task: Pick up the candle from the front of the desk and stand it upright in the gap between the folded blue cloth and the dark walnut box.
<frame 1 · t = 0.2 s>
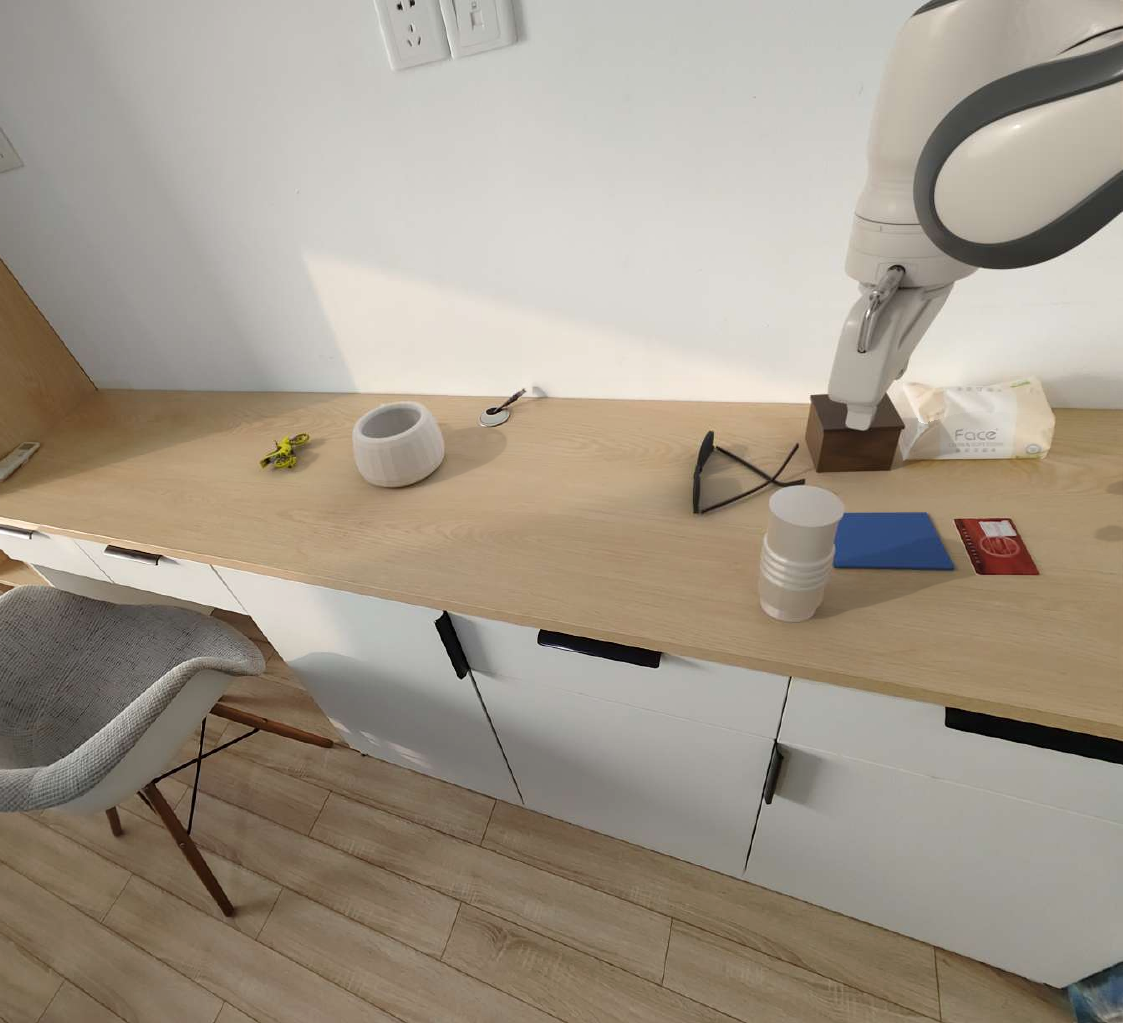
hand: (876, 399, 56), 26 cm above the table, tool pointing down, fingers open, 8 cm apart
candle: (786, 603, 72), on the table
toy motorcycle: (289, 459, 126), on the table
box: (845, 453, 89), on the table
white plant pot: (402, 460, 116), on the table
sunglasses: (745, 485, 89), on the table
cloth: (881, 540, 76), on the table
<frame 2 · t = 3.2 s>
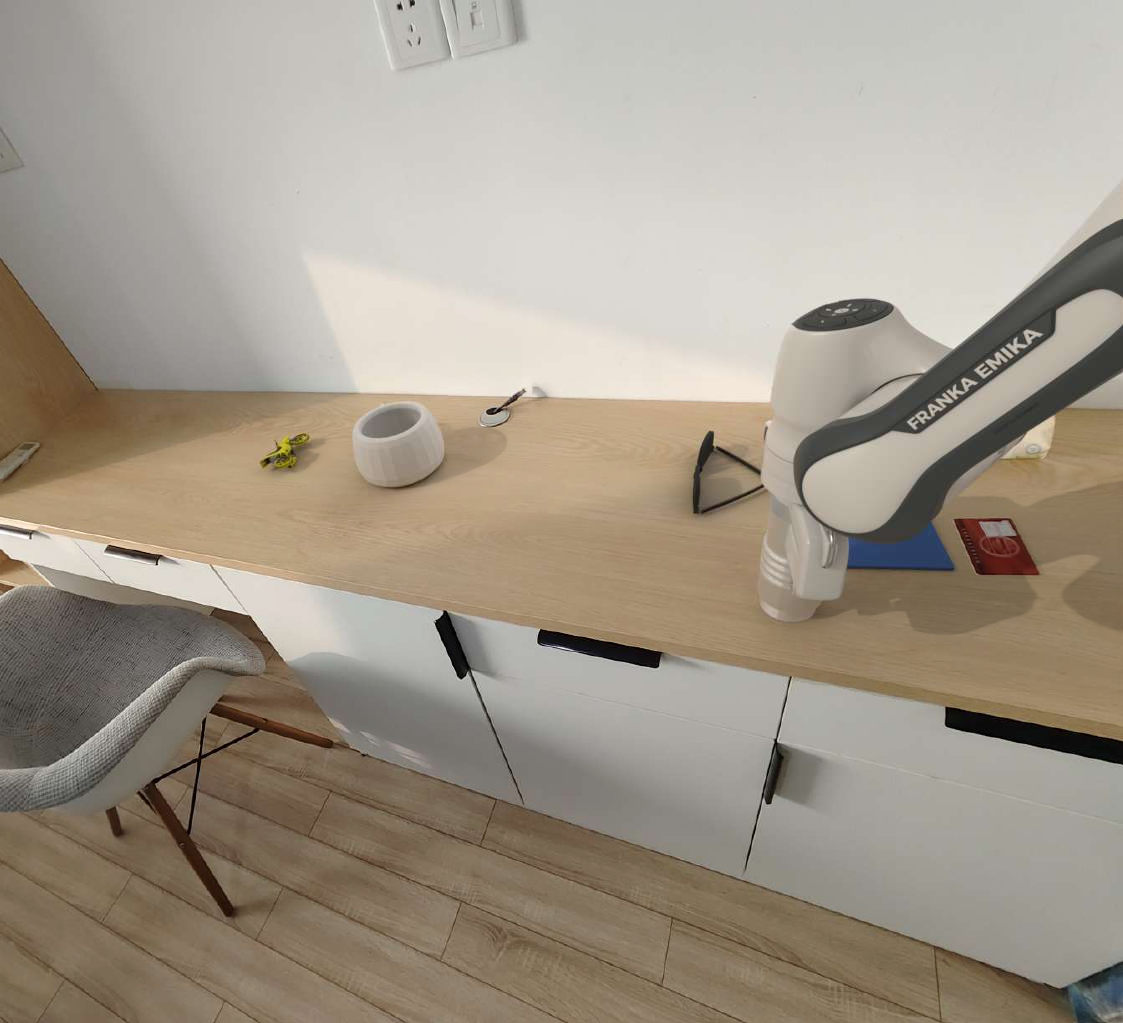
hand: (793, 565, 68), 6 cm above the table, tool pointing down, fingers closed on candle, 7 cm apart
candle: (786, 604, 72), on the table, touching gripper
everything else where it was.
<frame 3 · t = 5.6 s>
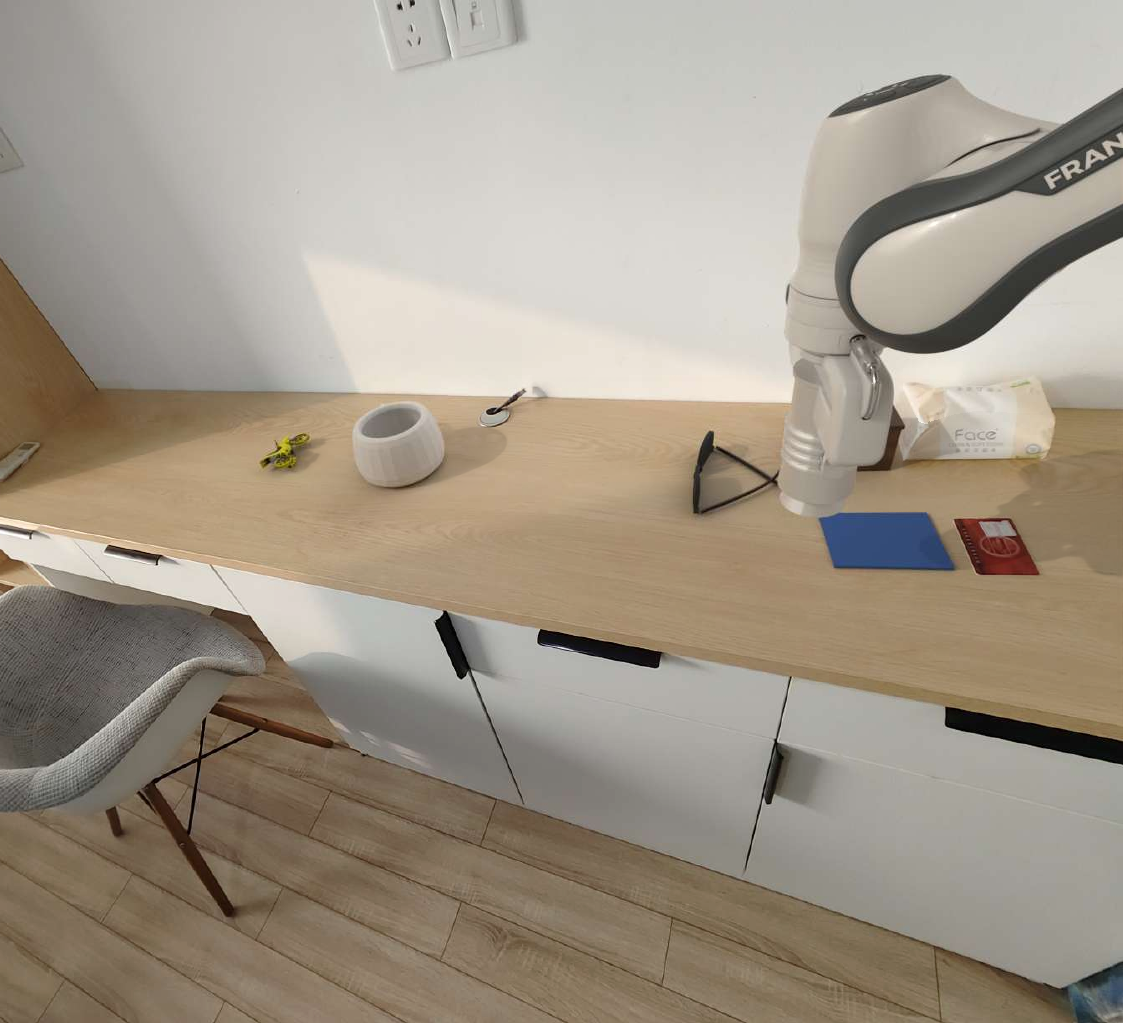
hand: (820, 449, 59), 21 cm above the table, tool pointing down, fingers closed on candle, 7 cm apart
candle: (811, 500, 63), point 15 cm above the table, touching gripper
everything else where it was.
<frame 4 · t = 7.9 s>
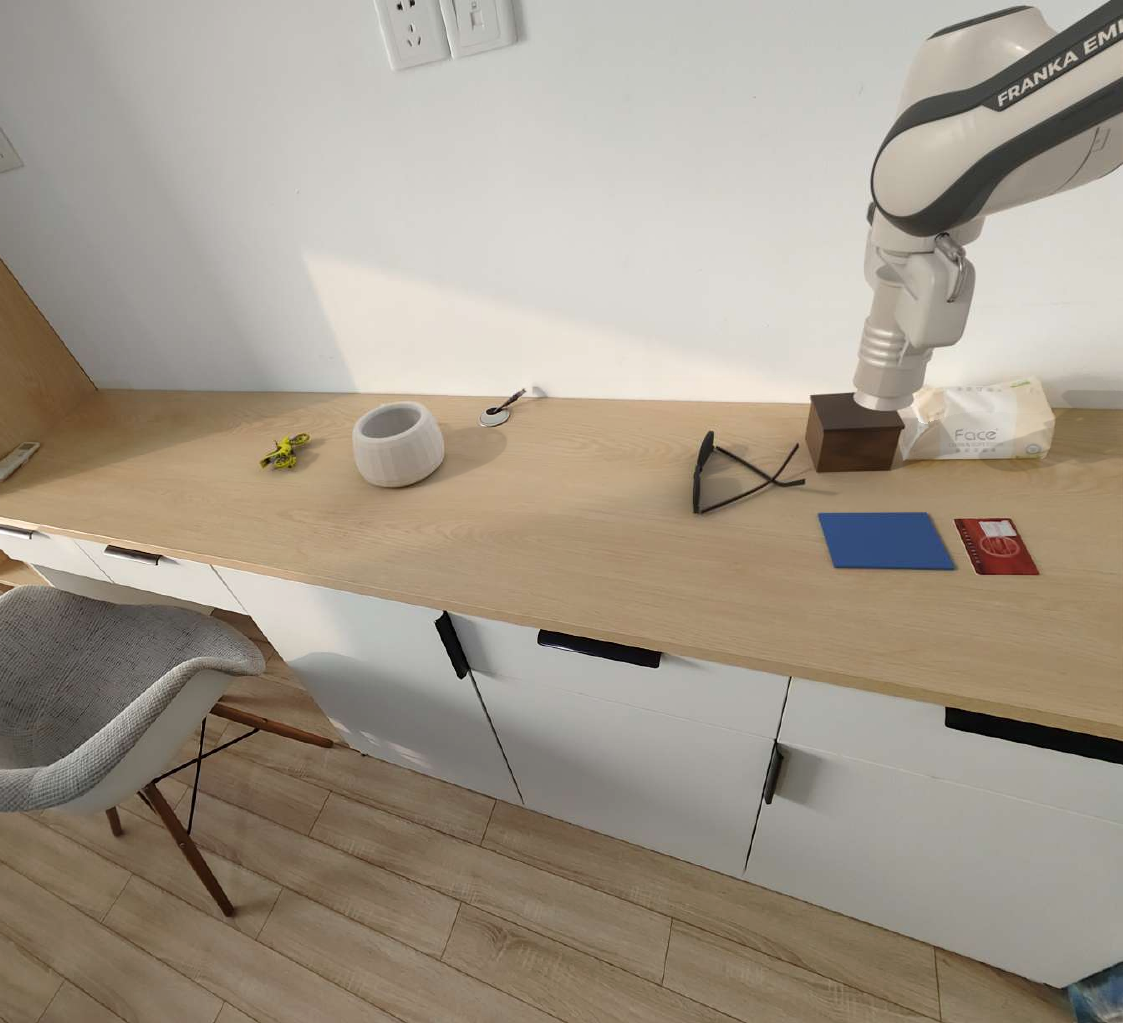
hand: (895, 349, 68), 22 cm above the table, tool pointing down, fingers closed on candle, 7 cm apart
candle: (882, 399, 72), point 16 cm above the table, touching gripper
everything else where it was.
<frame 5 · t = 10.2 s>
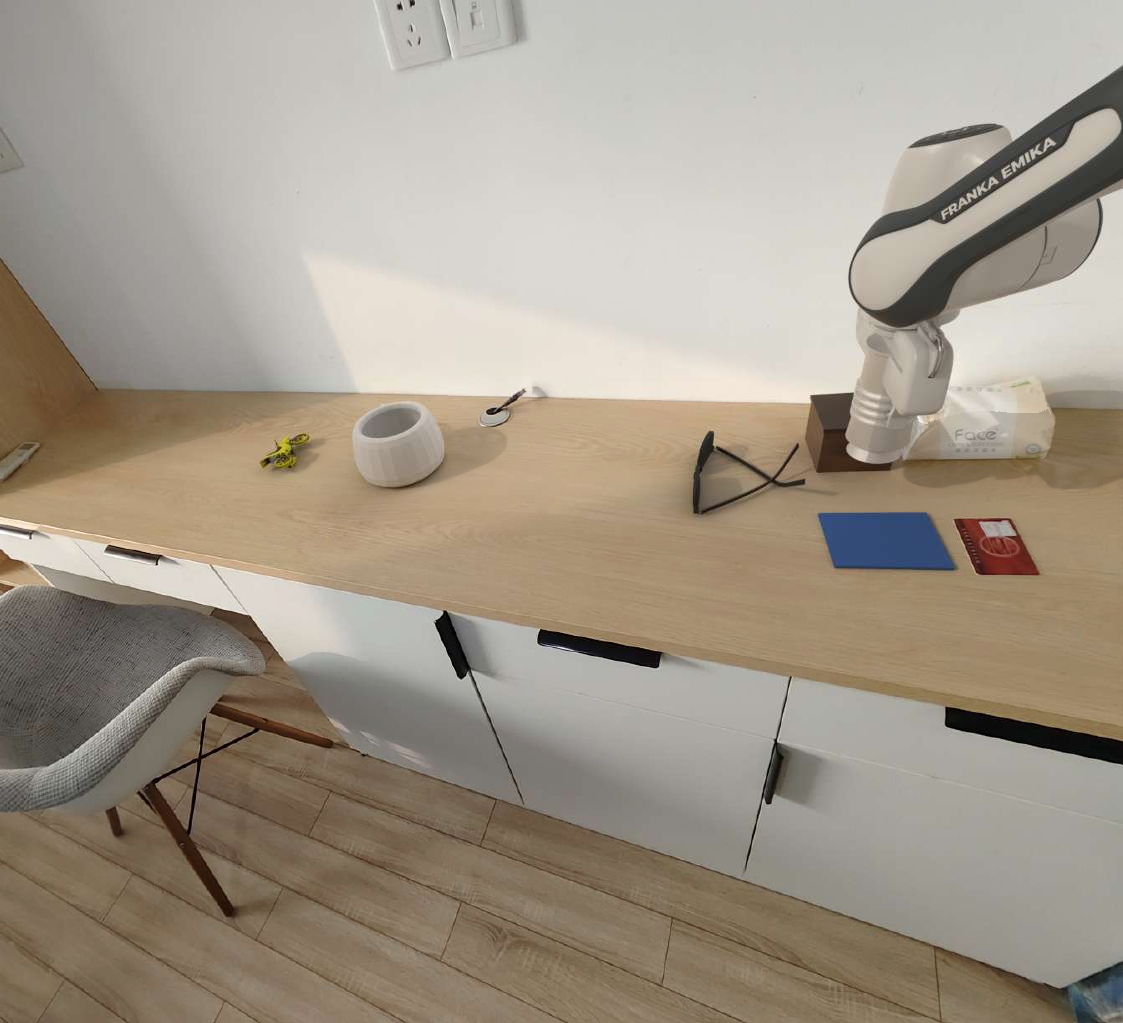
hand: (883, 408, 74), 13 cm above the table, tool pointing down, fingers closed on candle, 7 cm apart
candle: (872, 451, 78), point 7 cm above the table, touching gripper
everything else where it was.
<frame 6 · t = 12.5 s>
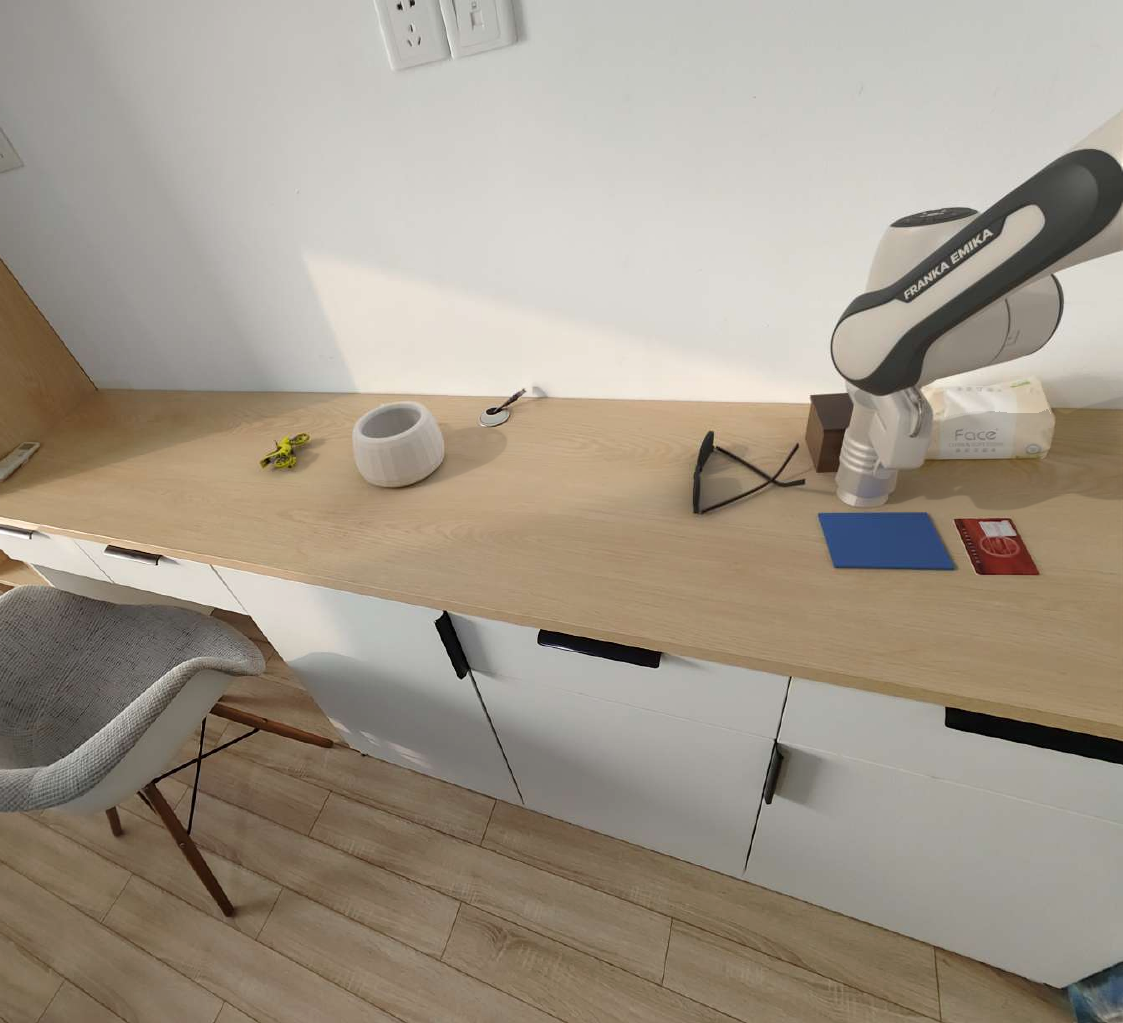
hand: (871, 456, 79), 6 cm above the table, tool pointing down, fingers closed on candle, 7 cm apart
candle: (861, 495, 83), on the table, touching gripper
everything else where it was.
when the fingers open (6 cm above the table, at t = 12.9 s): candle stays where it is, on the table.
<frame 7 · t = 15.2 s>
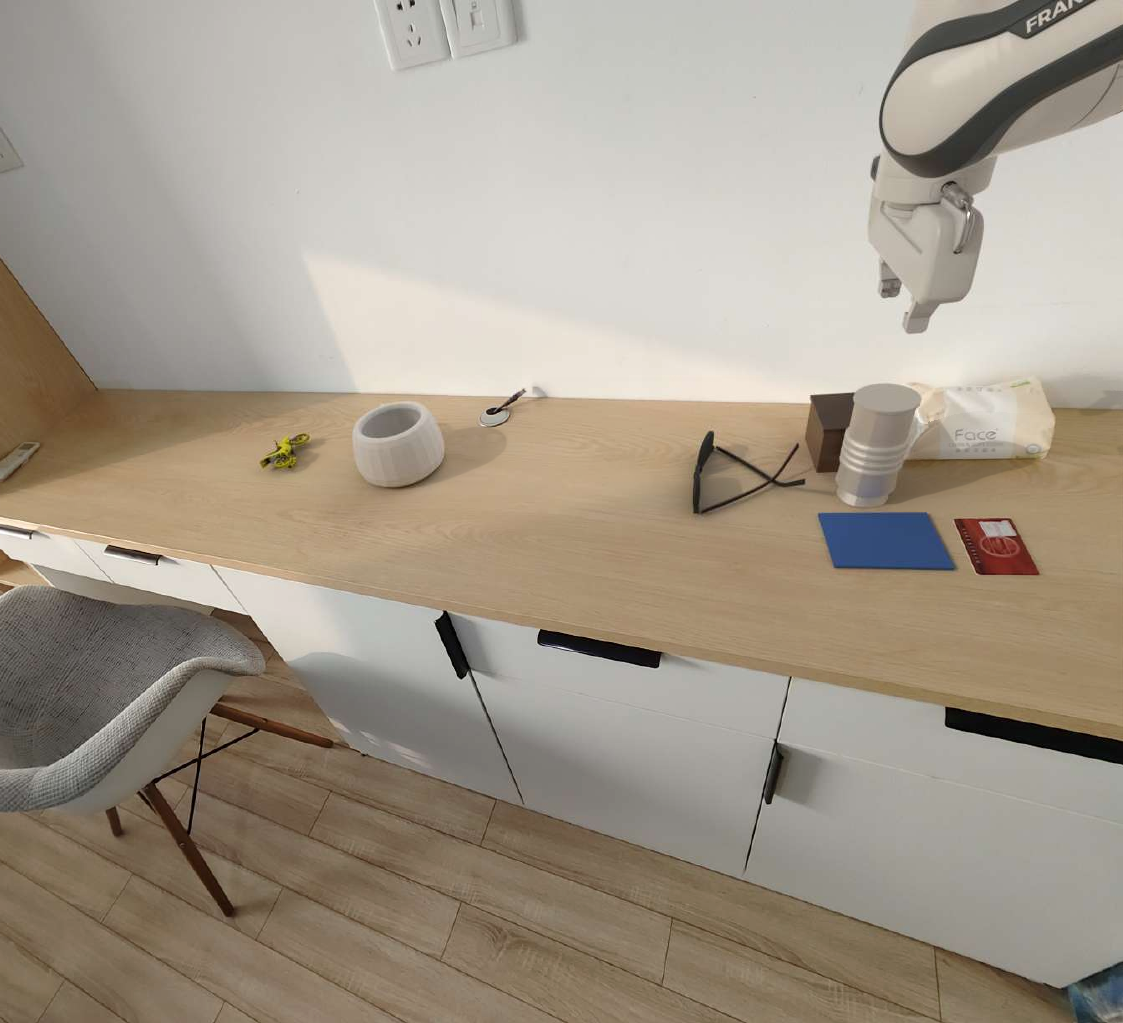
hand: (899, 312, 66), 27 cm above the table, tool pointing down, fingers open, 8 cm apart
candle: (861, 495, 83), on the table
everything else where it was.
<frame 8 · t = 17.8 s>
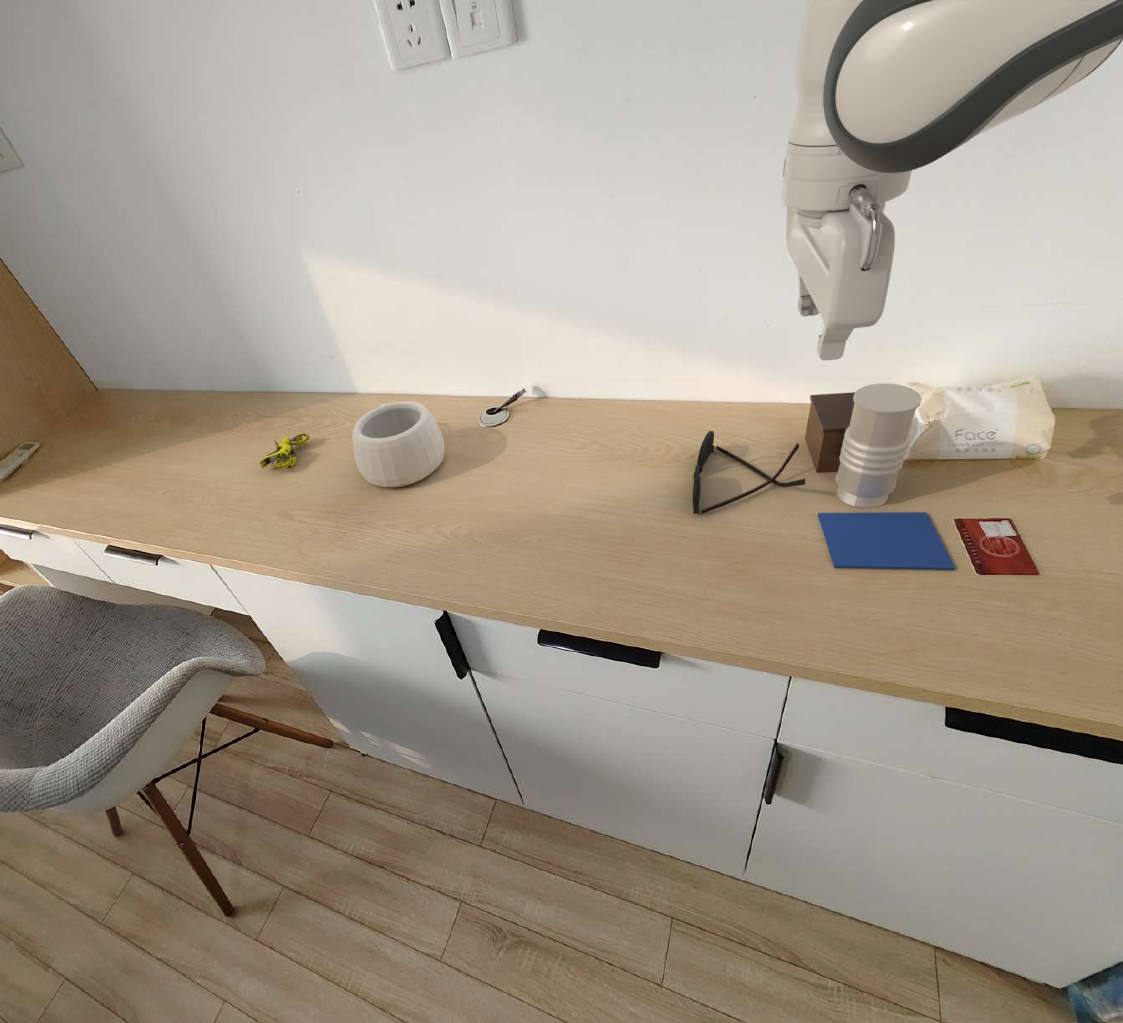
hand: (818, 333, 57), 31 cm above the table, tool pointing down, fingers open, 8 cm apart
nothing on the table moved.
at the end: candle inside the target area on the table beside the box (0.6 cm from its centre), on the table; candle 9.4 cm from the cloth (horizontally); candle tilted 0° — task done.
